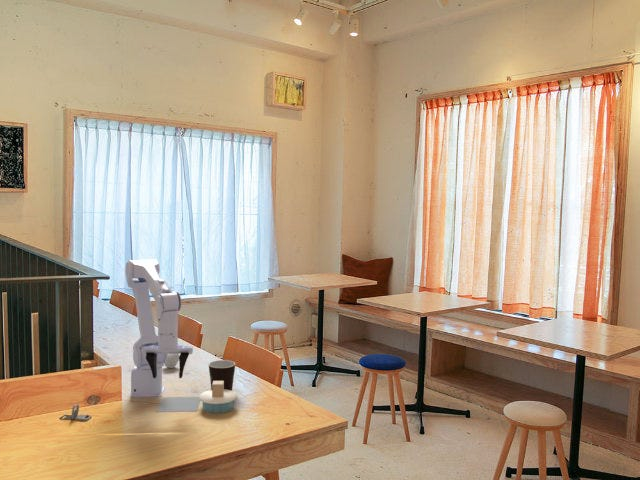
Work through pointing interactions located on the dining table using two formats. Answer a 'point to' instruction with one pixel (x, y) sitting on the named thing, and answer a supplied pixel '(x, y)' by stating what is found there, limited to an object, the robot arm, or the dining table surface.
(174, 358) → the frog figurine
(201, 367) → the dining table surface
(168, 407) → the mat
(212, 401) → the lid
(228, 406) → the bowl
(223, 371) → the coffee mug
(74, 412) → the strap clip
